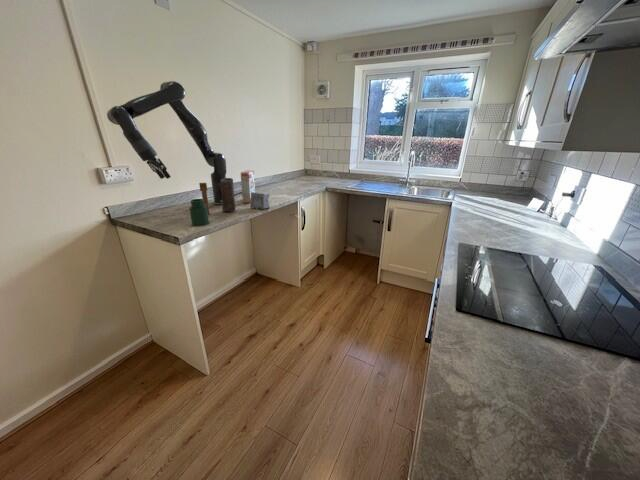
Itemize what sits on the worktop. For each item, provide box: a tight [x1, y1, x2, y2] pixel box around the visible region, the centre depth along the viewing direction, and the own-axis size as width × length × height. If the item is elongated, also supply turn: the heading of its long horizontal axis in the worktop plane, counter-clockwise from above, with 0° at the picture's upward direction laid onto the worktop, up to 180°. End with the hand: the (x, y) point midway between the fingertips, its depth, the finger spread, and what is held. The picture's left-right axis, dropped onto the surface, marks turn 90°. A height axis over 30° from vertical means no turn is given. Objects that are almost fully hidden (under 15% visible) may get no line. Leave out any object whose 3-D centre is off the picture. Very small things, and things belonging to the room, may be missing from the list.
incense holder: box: [250, 191, 270, 210], centre depth 167 cm, size 10×8×10 cm
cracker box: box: [240, 169, 256, 204], centre depth 182 cm, size 14×6×21 cm, turn 179°
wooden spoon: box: [199, 182, 210, 216], centre depth 150 cm, size 3×4×18 cm
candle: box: [220, 177, 236, 213], centre depth 156 cm, size 8×7×20 cm
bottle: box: [189, 198, 210, 227], centre depth 135 cm, size 8×8×12 cm
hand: (166, 178), depth 138 cm, fingers open, 8 cm apart
